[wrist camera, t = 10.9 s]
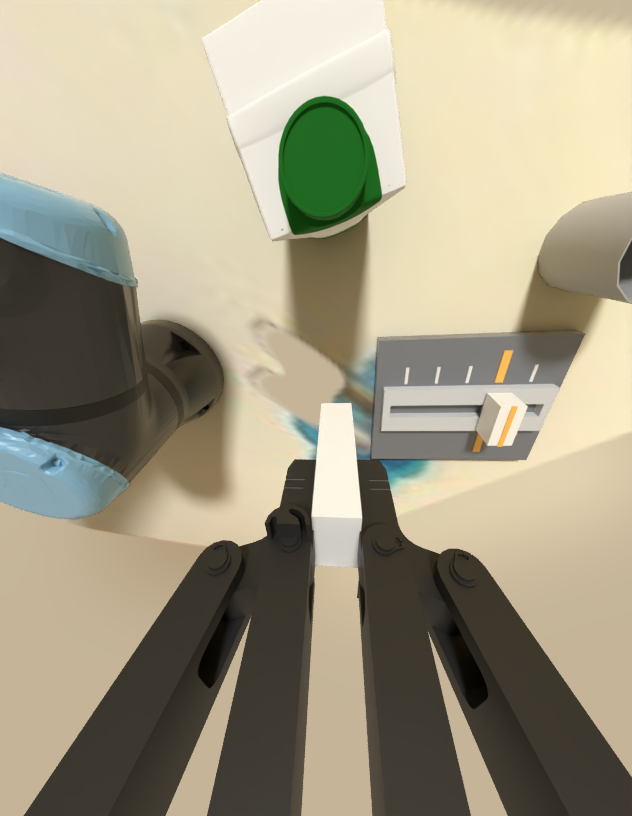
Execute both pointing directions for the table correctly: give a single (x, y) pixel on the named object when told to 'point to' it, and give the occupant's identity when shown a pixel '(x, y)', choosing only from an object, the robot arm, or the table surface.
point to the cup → (592, 249)
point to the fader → (500, 419)
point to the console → (463, 390)
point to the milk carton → (312, 111)
